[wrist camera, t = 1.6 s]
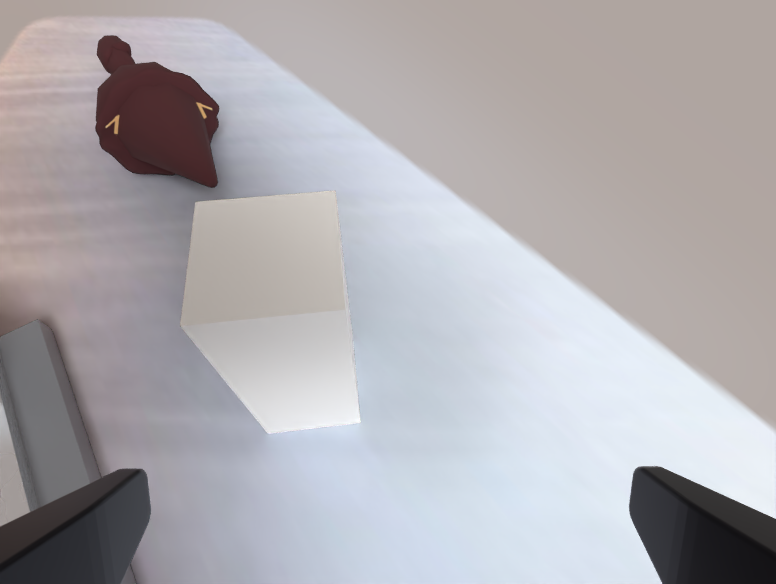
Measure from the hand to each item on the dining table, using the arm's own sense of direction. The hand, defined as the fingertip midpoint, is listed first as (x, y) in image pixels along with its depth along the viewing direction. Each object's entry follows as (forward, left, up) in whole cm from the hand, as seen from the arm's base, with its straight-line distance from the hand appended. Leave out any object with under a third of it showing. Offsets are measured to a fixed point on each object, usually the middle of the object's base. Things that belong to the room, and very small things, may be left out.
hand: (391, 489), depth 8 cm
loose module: (+5, +6, -14) cm, 16 cm away
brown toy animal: (+14, +23, -14) cm, 30 cm away
